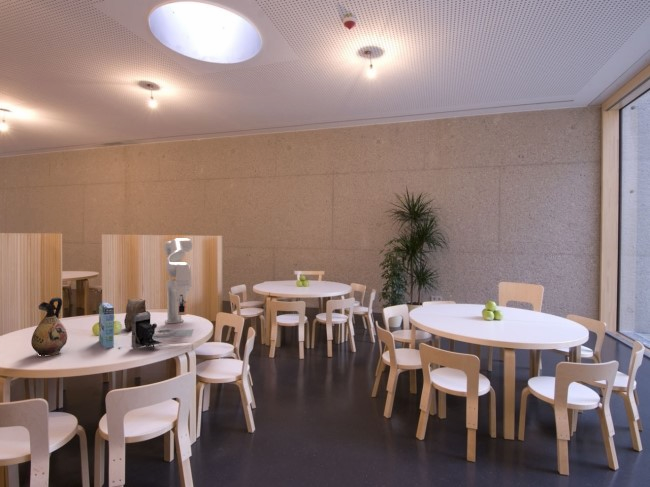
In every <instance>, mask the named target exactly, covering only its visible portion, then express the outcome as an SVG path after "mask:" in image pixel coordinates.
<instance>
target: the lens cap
mask: <svg viewBox="0 0 650 487" xmlns="http://www.w3.org/2000/svg"><path fill="white" fill-rule="evenodd" d="M184 306H185V312H179V303H178V315H181V316H185V315H188V302H186V303H184Z"/></svg>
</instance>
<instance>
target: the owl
mask: <svg viewBox="0 0 650 487" xmlns="http://www.w3.org/2000/svg"><path fill="white" fill-rule="evenodd" d="M125 309H126V310H125V316H124V327H125V331H126V332H127V333H130V332H132V315H134V313H135V314H139V313H144V312H146V311H147V309H146V299H141V298H139V299H132V298H128V299H127V303H126V307H125Z"/></svg>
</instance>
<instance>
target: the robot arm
mask: <svg viewBox="0 0 650 487" xmlns="http://www.w3.org/2000/svg"><path fill="white" fill-rule="evenodd" d="M163 244H164V245H163V249H164V252H165V255H166V257H167V258H166V260H165V266H166V272H167V274H168V276H169V277H170V278H171V279H168V280H167V281H166V282H165V287H166V294H167V296H166V299H167V300H166V302H167V306H166V307H167V315H166V316H167V319H166V320H164V322H165V324H179V323H180V324H181V323H182V322H184V320H185V319H184V318H182V315H178V303H179V312H185V306H184V303H187V299H188V292H190V291H191V289H192V271H191V270H192V269H191V265H190V264H189V262H184V261H183V262H181V260H182V259H184V258H185V256H186V253H188V252H189V253H190V251H191V250H192V249H193V242H192V240H191V239H190V238H173V239H171V240H168V241H165V242H164V243H163Z"/></svg>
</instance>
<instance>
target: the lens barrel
mask: <svg viewBox="0 0 650 487" xmlns="http://www.w3.org/2000/svg"><path fill="white" fill-rule="evenodd" d="M176 330H177V329H176V328H175V329H174V328H159V329H155V333H154V335H153V336H154V337H168V336H172V335H175V333H176Z"/></svg>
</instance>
